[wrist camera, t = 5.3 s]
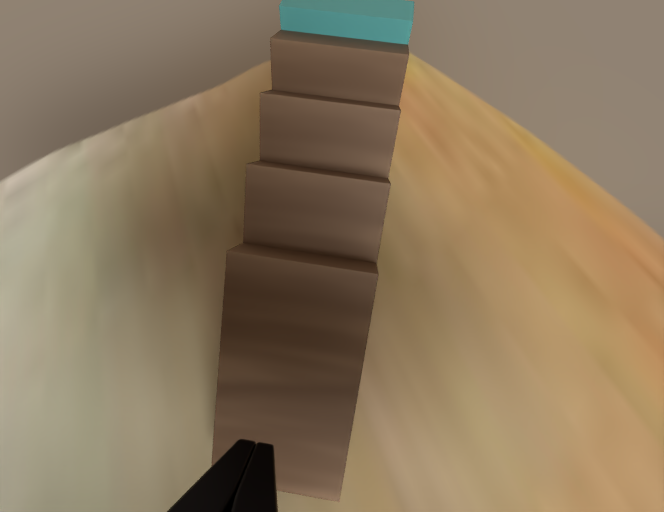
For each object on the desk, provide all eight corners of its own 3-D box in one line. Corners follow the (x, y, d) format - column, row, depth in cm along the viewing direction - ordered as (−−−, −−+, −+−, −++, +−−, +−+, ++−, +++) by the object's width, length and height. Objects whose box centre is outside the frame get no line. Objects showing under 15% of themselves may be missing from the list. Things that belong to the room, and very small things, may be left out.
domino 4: (370, 246, 18) (408, 54, 12) (277, 232, 19) (270, 38, 13) (372, 227, 20) (408, 44, 13) (284, 214, 20) (281, 29, 14)
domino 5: (377, 190, 20) (412, 21, 13) (293, 179, 21) (278, 5, 13) (379, 171, 21) (414, 1, 14) (298, 160, 22) (288, -13, 14)
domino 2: (352, 396, 15) (390, 183, 12) (238, 376, 15) (246, 163, 12) (353, 372, 16) (388, 178, 13) (249, 354, 17) (259, 160, 14)
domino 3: (362, 313, 17) (400, 110, 12) (259, 297, 17) (259, 92, 12) (364, 293, 18) (398, 105, 14) (268, 279, 18) (271, 89, 14)
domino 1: (339, 501, 13) (378, 274, 11) (210, 478, 13) (226, 250, 11) (341, 468, 15) (376, 262, 13) (226, 447, 15) (242, 242, 13)
